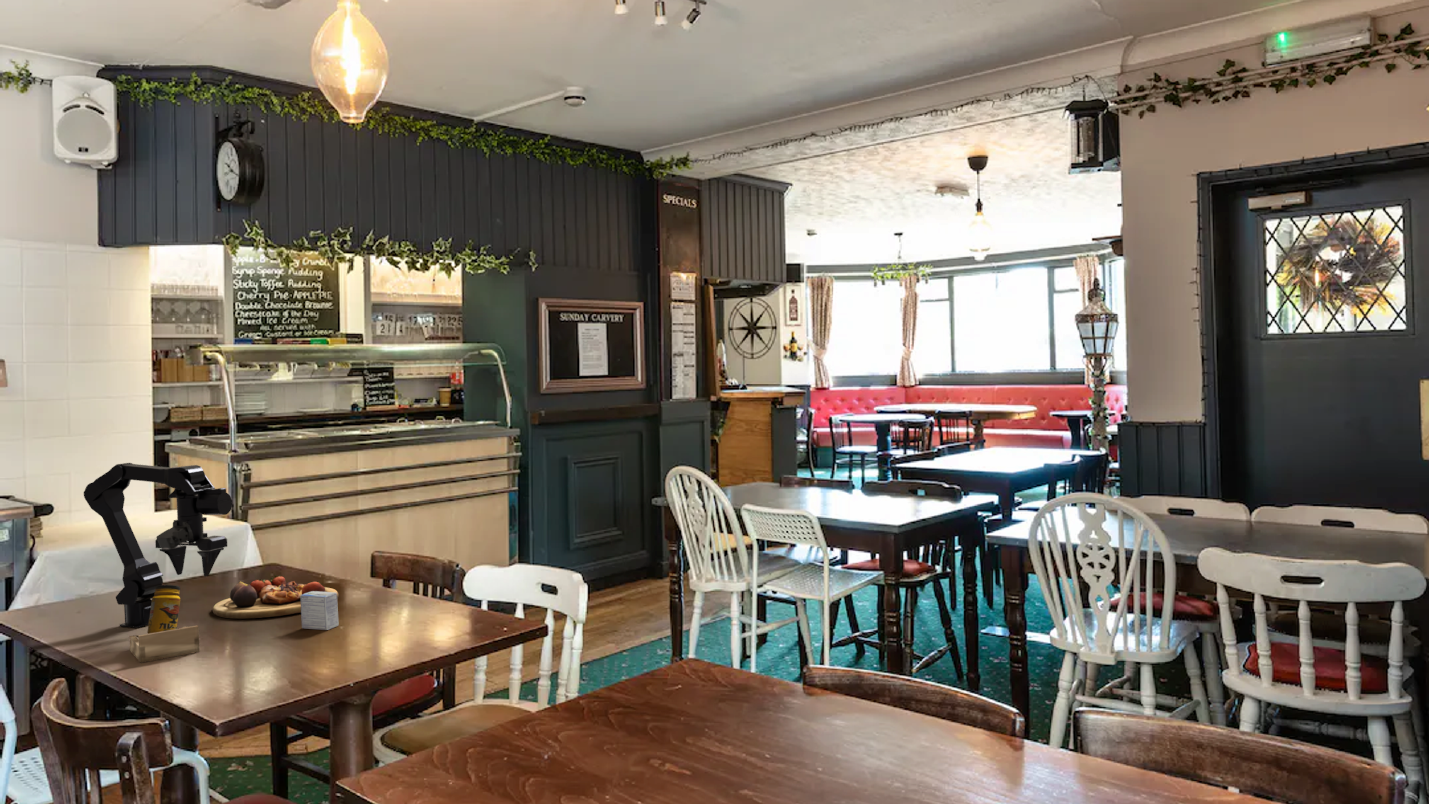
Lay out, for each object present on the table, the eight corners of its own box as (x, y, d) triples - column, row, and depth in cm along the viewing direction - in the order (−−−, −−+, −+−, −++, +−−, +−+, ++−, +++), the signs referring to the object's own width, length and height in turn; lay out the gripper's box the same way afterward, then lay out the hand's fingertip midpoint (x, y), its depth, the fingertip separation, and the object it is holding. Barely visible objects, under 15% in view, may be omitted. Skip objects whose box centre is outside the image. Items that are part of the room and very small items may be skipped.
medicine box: (339, 626, 247) (337, 592, 247) (326, 630, 243) (325, 596, 242) (313, 624, 249) (312, 590, 249) (301, 628, 245) (299, 594, 245)
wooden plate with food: (362, 600, 276) (361, 571, 276) (256, 625, 250) (254, 593, 249) (295, 590, 294) (294, 563, 294) (189, 613, 267) (187, 583, 267)
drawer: (130, 650, 229) (128, 625, 229) (187, 640, 237) (185, 616, 237) (140, 662, 219) (139, 636, 219) (199, 651, 227) (198, 626, 227)
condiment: (175, 635, 229) (181, 584, 233) (134, 636, 226) (141, 583, 230) (179, 638, 236) (185, 588, 239) (139, 638, 233) (146, 587, 236)
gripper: (134, 518, 246) (138, 580, 247) (190, 520, 240) (193, 584, 240) (173, 512, 256) (176, 571, 257) (227, 514, 250) (230, 574, 250)
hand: (192, 575), depth 251 cm, fingers open, 9 cm apart
